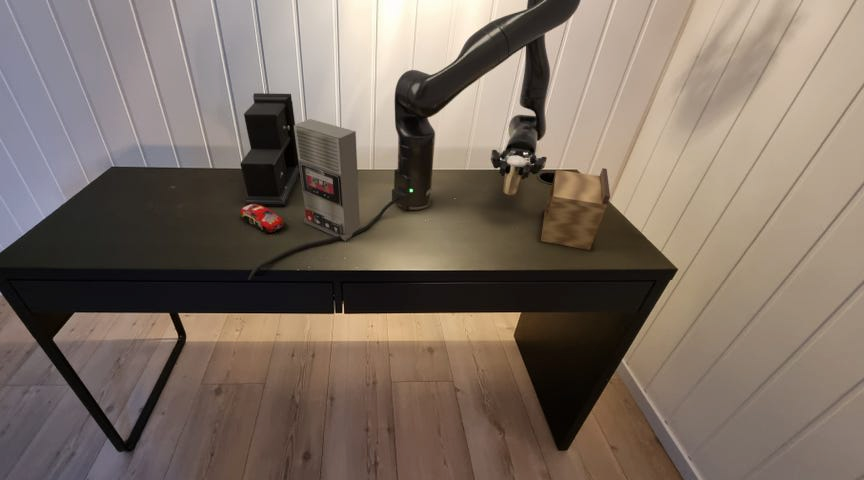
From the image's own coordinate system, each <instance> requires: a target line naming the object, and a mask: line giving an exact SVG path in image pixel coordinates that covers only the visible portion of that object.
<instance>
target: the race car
mask: <svg viewBox="0 0 864 480" xmlns="http://www.w3.org/2000/svg"><path fill="white" fill-rule="evenodd" d="M274 212H275V210H270V209H269V208H267V207H266V206H261V205H258V204H250V205H247V204H246V205H245V206H243V207H242V208H241V217H242V219H243V220H244V221H245V222H246V223H247V224H251V225H253V226H255V228H258V229H259V230H261V231H263V232H264V233H265V234H268V233H274V232H277V231H279V230H282V228H284V224H285V223H284V220H283V218H281V216H278V215H277V214H275V213H274Z"/></svg>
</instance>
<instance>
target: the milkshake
mask: <svg viewBox="0 0 864 480" xmlns="http://www.w3.org/2000/svg"><path fill="white" fill-rule="evenodd" d="M531 156H532V155H531ZM531 156H530V157H531ZM530 157H529V159H530ZM529 159H528V160H529ZM528 160H527V161H528ZM527 161H526V160H525V159H524V158H523V157H521V156H510V157H509V158H508V159H507V163H506V165H507V166H506V172H505V175H504V180H503V186H502V188H503V189H502V192H503V194H506V195H508V196H513V195H516V194H517V192H518V189H519V185H520V183H521V181H522V179H521V178H522V174H523V170H524V168H525V166H526V163H527Z"/></svg>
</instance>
